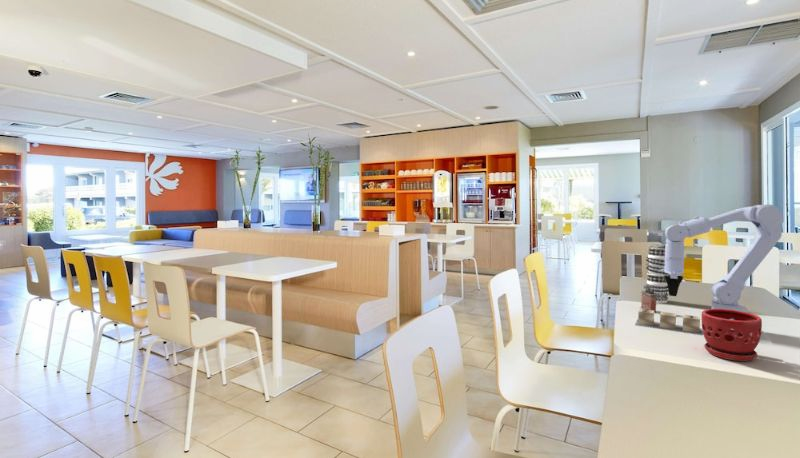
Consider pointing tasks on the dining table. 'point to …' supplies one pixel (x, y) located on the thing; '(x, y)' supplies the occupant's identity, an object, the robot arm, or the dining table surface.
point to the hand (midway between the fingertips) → (672, 295)
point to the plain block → (668, 320)
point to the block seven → (646, 317)
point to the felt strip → (678, 329)
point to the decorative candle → (657, 272)
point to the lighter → (648, 299)
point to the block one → (691, 323)
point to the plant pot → (731, 333)
